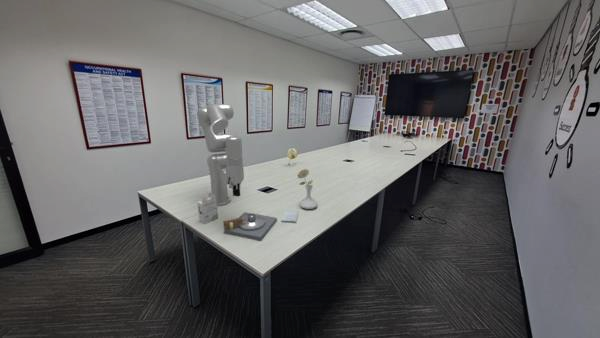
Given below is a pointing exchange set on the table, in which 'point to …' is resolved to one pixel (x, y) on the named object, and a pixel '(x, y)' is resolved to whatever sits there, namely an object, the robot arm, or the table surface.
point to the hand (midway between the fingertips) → (236, 195)
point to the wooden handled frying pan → (246, 222)
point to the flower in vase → (308, 201)
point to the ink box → (207, 209)
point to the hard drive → (290, 216)
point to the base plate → (252, 234)
